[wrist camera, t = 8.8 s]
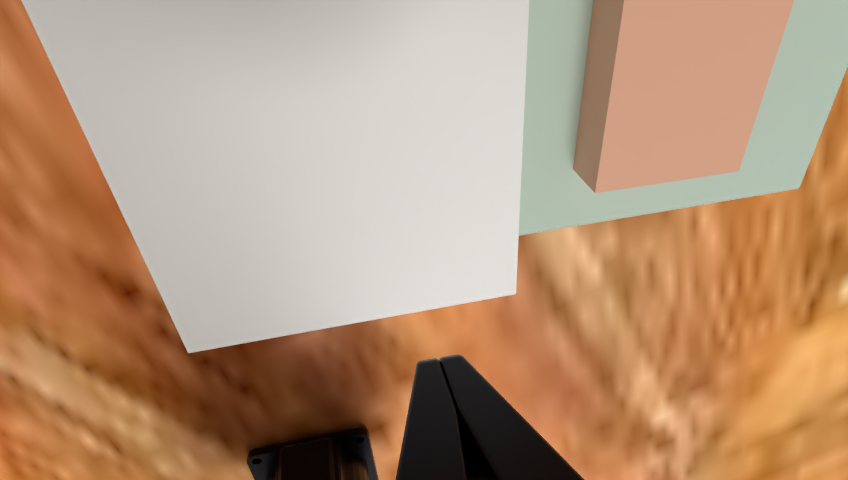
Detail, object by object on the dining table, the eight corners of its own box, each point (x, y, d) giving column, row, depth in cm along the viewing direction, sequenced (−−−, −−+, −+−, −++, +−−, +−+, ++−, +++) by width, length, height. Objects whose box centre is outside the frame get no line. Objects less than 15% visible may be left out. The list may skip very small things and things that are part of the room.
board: (485, 235, 23) (516, 293, 20) (205, 282, 22) (188, 353, 18) (487, -212, 14) (540, -238, 11) (19, -182, 13) (-74, -201, 10)
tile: (594, 193, 20) (572, 169, 22) (738, 171, 21) (706, 150, 22) (637, -86, 15) (604, -89, 16) (827, -102, 15) (777, -104, 17)
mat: (792, 184, 25) (798, 188, 24) (507, 231, 23) (510, 237, 23) (957, -243, 16) (971, -245, 16) (521, -214, 15) (526, -216, 14)
